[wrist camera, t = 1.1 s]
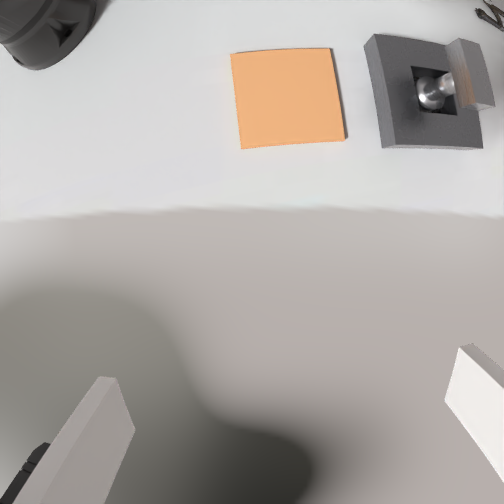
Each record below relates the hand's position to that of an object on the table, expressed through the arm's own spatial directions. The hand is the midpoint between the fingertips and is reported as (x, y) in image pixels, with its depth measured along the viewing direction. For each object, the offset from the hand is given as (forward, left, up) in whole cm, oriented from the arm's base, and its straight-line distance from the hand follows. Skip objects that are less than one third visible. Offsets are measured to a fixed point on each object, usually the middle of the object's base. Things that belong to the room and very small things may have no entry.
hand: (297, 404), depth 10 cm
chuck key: (-18, +22, -27) cm, 40 cm away
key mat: (-18, +4, -27) cm, 33 cm away
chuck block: (-18, +22, -27) cm, 40 cm away
